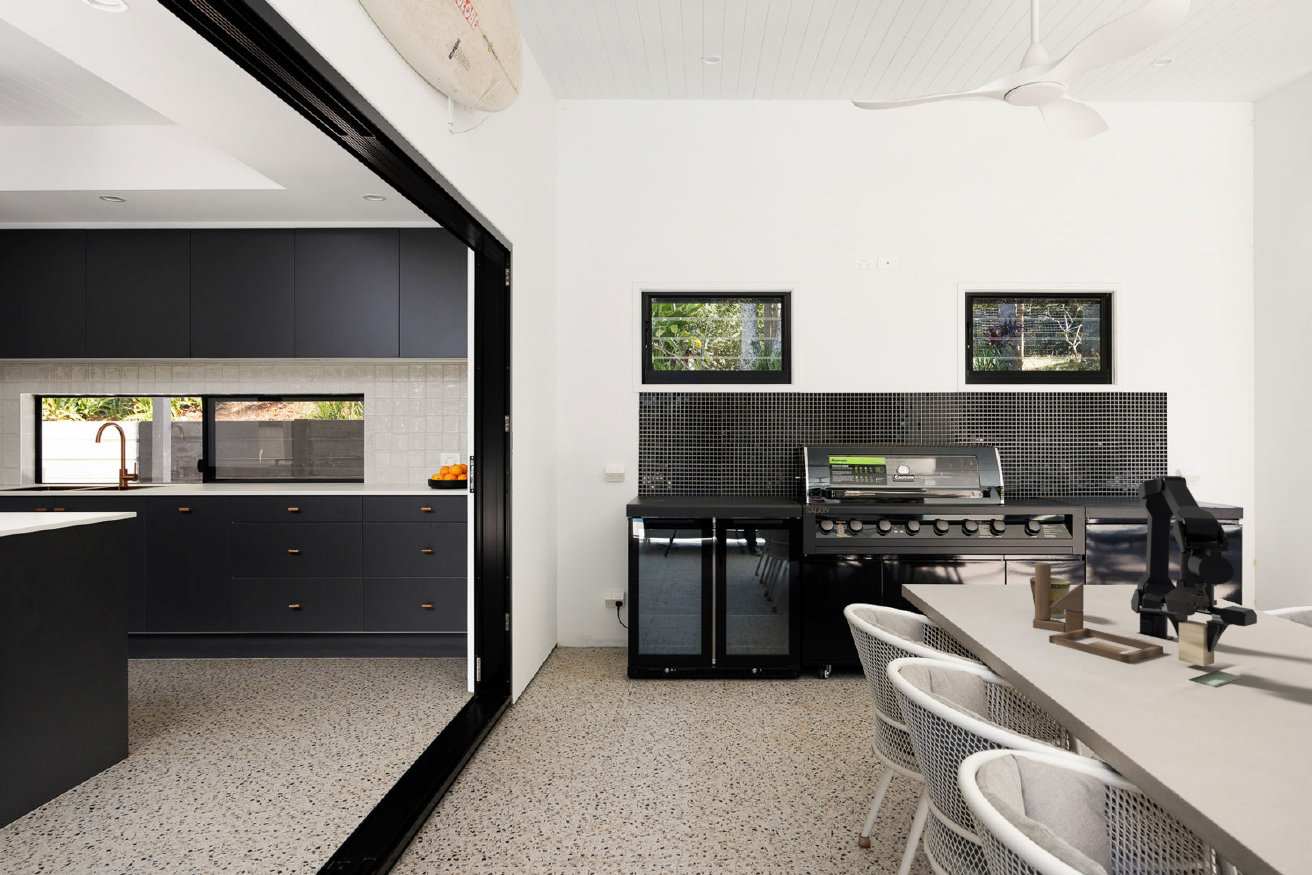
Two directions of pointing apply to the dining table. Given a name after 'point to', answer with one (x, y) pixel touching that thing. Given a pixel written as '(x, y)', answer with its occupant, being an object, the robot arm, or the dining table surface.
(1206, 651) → the beech block
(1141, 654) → the wooden rectangular frame
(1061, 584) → the yellow green glass cup
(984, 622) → the dining table surface
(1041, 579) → the wooden block structure
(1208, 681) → the green mat
